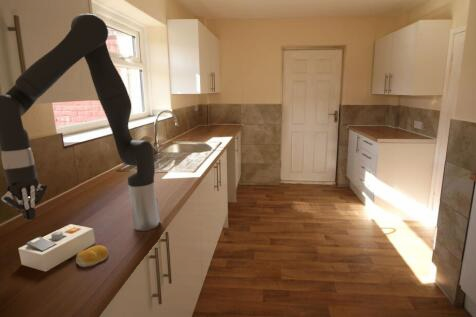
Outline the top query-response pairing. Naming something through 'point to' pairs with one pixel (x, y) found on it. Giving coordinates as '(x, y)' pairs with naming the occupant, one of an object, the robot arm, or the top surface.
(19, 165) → the robot arm
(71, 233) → the orange button
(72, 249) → the console
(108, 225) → the top surface
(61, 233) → the grey button
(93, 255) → the bread roll
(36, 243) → the rocker
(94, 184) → the top surface
